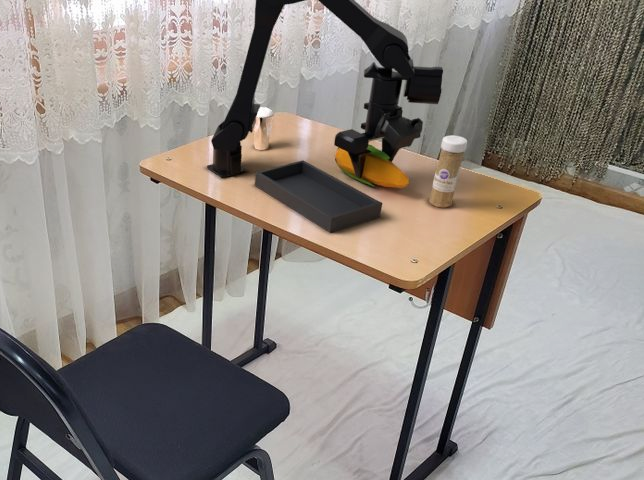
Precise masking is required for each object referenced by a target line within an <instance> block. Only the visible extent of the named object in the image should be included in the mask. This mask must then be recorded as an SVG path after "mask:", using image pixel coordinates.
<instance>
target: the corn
mask: <svg viewBox="0 0 644 480" xmlns="http://www.w3.org/2000/svg"><path fill="white" fill-rule="evenodd" d="M367 149H368V150H370V151H371V153H369V154H368V155H367V156H366V159H365V164H364V169H363V173H362V176H361V178H357V177H356V174H355V171H354V168H353V165H352V162H351V159H350V156H349V154H348V152H347V151H345V150H343V149H341V148H339V147H337V149H336V152H335V153H334V156H335V157H334V161H335V163H336V165H337V167H338V168H339V169H340V171H342V172H343V173H345V174H346V175H347V176H348V177H350V178H351V179H355V180H356V181H359V182H360V183H363V184H366V185H368V186H371V187H374V188H376V186H375V185H377V186H382V187H385V188H397V189H398V188H399V189H403V188H405V187H407V186H409V184H410V183H409V182H410V179H409V176H408V175H407V174H406V173H405V172H404V171H402V170H401V168H399V167H398V166H397V165H396V164H394V163H393V161H392V162H391V161H389V160H387V159H390V157H389V156H388V155H387V154H385V153H384V152H383V151H382V149H379V148H376V147H375V146H373V145H372V144H368V148H367ZM373 184H375V185H373Z"/></svg>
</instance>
